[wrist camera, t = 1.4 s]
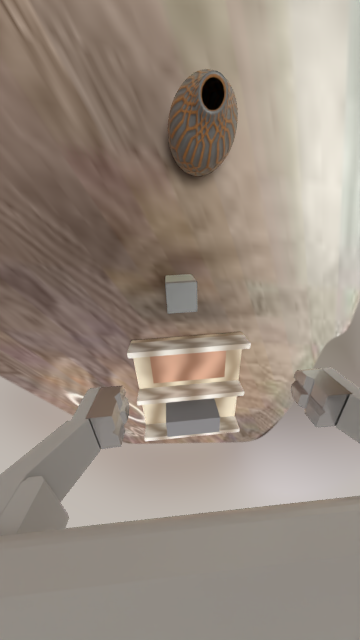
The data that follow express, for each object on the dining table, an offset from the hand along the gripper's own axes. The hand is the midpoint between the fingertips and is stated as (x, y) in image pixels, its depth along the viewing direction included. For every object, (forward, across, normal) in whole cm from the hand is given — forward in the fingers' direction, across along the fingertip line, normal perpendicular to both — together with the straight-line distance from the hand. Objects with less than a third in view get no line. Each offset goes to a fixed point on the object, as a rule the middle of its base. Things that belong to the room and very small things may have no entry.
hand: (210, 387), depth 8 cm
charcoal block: (+21, 0, +25) cm, 33 cm away
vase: (+22, -3, -17) cm, 28 cm away
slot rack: (+22, 0, +20) cm, 30 cm away
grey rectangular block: (+22, 0, 0) cm, 22 cm away
